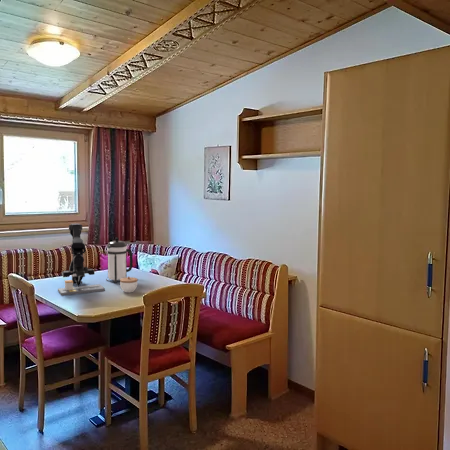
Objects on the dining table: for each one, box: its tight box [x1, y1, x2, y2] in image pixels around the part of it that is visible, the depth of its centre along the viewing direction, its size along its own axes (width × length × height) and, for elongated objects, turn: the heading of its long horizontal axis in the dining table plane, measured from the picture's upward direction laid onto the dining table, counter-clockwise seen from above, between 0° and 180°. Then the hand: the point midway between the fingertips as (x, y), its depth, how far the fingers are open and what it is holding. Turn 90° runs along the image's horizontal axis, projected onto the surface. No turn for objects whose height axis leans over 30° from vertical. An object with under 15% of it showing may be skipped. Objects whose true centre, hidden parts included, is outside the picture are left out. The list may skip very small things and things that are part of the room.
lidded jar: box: [119, 276, 139, 293], centre depth 285 cm, size 11×11×9 cm
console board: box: [57, 283, 106, 296], centre depth 285 cm, size 12×26×2 cm, turn 120°
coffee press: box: [106, 237, 134, 284], centre depth 313 cm, size 17×16×30 cm
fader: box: [64, 279, 74, 290], centre depth 281 cm, size 4×4×5 cm
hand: (78, 286), depth 284 cm, fingers closed
